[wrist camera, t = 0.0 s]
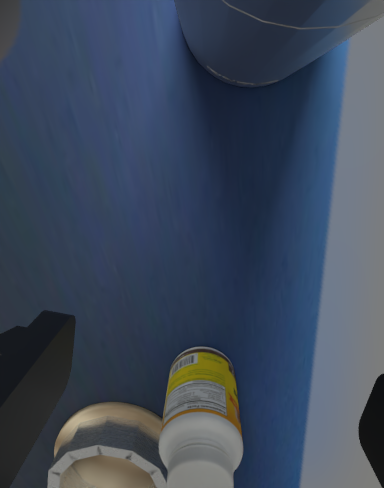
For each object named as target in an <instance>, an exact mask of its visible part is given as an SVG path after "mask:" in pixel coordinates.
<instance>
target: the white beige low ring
mask: <svg viewBox="0 0 384 488" xmlns="http://www.w3.org/2000/svg"><path fill="white" fill-rule="evenodd" d="M159 438H160V435H159V434H158V433H156V432H155V431H153V430H152V429H150V428H149V427H148V426H146V425H145V424H143V423H142V422H140V421H137V420H131V419H125V418H120V417H114V416H109V415H108V416H104V417H100V418H96V419H92V420H88V421H84V422H80V423H79V424H78V425H77V426H76V427H75V428H74V429H73V430H72V431H71V432H70V433H69V434H68V435H67V436H66V437H65V438H64V439H63V441H62V443H61V445H60V447H59V450H58V452H57V454H56V456H55V458H54V460H53V462H52V465H51V467H50V469H49V473H48V488H97V487H95V486H93V485H92V484H90V483H88V482H87V481H85V480H84V479H82V478H81V476H80V474H79V473H78V471H77V469H76V468H75V466H74V464H73V462H74V461H75V460H79V459H83V458H88V457H92V456H96V455H105V456H111V457H116V458H122V459H128V460H129V461H131V462H132V463H134V464H135V465H137V466H138V467H140V468H141V469H143V470H145V471H146V472H148V473H149V474H150V476H151V478H152V479H153V481H154V483H153V484H152V485H151V486H150V487H148V488H167V474H168V469H167V468H166V467H165V465H164V464H163V462H162V460H161V457H160V454H159Z"/></svg>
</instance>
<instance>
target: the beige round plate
mask: <svg viewBox="0 0 384 488" xmlns="http://www.w3.org/2000/svg"><path fill="white" fill-rule="evenodd" d="M108 415H109V416H114V417H120V418H125V419H131V420H137V421H140V422H142V423H143V424H145V425H146V426H148V427H149V428H150V429H152V430H153V431H155V432H156V433H158V434H159V435H160V432H161V426H162V420H163V419H162V418H161V417H160V416H158V415H157V414H155V413H153V412H152V411H150V410H147V409H145V408H143V407H140V406H137V405H133V404H129V403H123V402H102V403H97V404H93V405H90V406H87V407H85V408H82V409H80V410H79V411H77V412H76V413H74V414H73V415H72V416H71V417H70V418H69V419H68V420H67V421H66V422H65V424H64V425H63V427H62V429H61V431H60V433H59V435H58V437H57V440H56V443H55V448H54V457H55V456H56V454H57V452H58V450H59V447H60V445H61V443H62V441H63V439H64V438H65V437H66V436H67V435H68V434H69V433H70V432H71V431H72V430H73V429H74V428H75V427H76V426H77V425H78V424H79V423H80V422H84V421H88V420H92V419H96V418H100V417H104V416H108ZM73 464H74V466H75V468H76V469H77V471H78V473H79V474H80V476H81V478H82V479H84V480H85V481H87V482H88V483H90V484H92V485H93V486H95V487H97V488H148V487H150V486H151V485H152V484H153V483H154V481H153V479H152V478H151V476H150V474H149V473H148V472H146V471H145V470H143V469H141V468H140V467H138V466H137V465H135V464H134V463H132V462H131V461H129V460H128V459H122V458H116V457H111V456H105V455H96V456H92V457H88V458H83V459H79V460H75V461H74V462H73Z"/></svg>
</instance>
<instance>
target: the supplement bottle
mask: <svg viewBox="0 0 384 488" xmlns="http://www.w3.org/2000/svg"><path fill="white" fill-rule="evenodd" d="M159 454H160V457H161V460H162V462H163V464H164V465H165V467H166V468H167V469H168V474H167V488H233V486H234V483H233V473H234V471H235V470H236V469H237V467H238V466H239V464H240V462H241V459H242V456H243V440H242V431H241V423H240V414H239V404H238V396H237V387H236V379H235V372H234V368H233V365H232V363H231V362H230V360H229V359H228V358H227V357H226V356H225V355H224V354H223V353H222V352H220V351H218V350H216V349H213V348H210V347H193V348H190V349H187V350H185V351H184V352H182V353H181V354H179V355H178V356H177V357H176V359H175V360H174V362H173V364H172V366H171V369H170V375H169V381H168V387H167V394H166V400H165V407H164V413H163V420H162V426H161V432H160V438H159Z"/></svg>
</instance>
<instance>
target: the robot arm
mask: <svg viewBox="0 0 384 488" xmlns="http://www.w3.org/2000/svg"><path fill="white" fill-rule="evenodd" d="M174 2H175V6H176V10H177V13H178V17H179V21H180V24H181V28H182V31H183V35H184V37H185V39H186V42H187V44H188V46H189V49H190V51H191V52H192V53H193V55H194V56H195V58H196V59H197V61H198V62H199V64H200V65H202V66H203V67H204V68H205V69H206V70H207V71H208V72H209V73H210V74H211V75H213V76H215V77H216V78H218V79H220V80H221V81H223V82H226V83H229V84H232V85H235V86H239V87H252V88H253V87H260V86H266V85H270V84H273V83H275V82H278V81H280V80H283V79H284V78H286V77H288V76H289V75H291V74H293V73H294V72H296V71H297V70H299V69H301V68H303V67H304V66H306V65H308V64H309V63H311V62H312V61H314V60H315V59H317V58H319V57H320V56H322V55H323V54H325V53H327V52H328V51H330V50H331V49H333V48H334V47H336V46H338V45H339V44H341V43H342V42H344V41H345V40H347V39H349V38H350V37H352V36H353V35H355V34H356V33H358V32H360V31H361V30H363V29H364V28H366V27H368V26H369V25H371V24H372V23H374V22H375V21H377V20H378V19H380V18H382V17H383V16H384V0H174ZM75 323H76V321H75V316H73V315H68V314H63V313H58V312H52V311H47V310H44V311H43V312H41V313H40V314H39V315H38V317H37V318H36V319H35V320H34V321H33V322H32V323H31V324H30V325H29V326H28V327H21V326H16V327H14V328H12V329H10V330H8V331H6V332H4V333H1V334H0V488H9V487H10V485H11V484H12V482H13V480H14V478H15V477H16V475H17V473H18V471H19V470H20V468H21V466H22V464H23V463H24V461H25V459H26V457H27V455H28V454H29V452H30V450H31V448H32V447H33V445H34V443H35V441H36V440H37V438H38V436H39V434H40V433H41V431H42V429H43V427H44V426H45V424H46V422H47V420H48V419H49V417H50V415H51V413H52V411H53V410H54V408H55V406H56V404H57V403H58V401H59V399H60V397H61V396H62V394H63V392H64V390H65V388H66V385H67V383H68V379H69V376H70V372H71V366H72V356H73V345H74V335H75ZM359 439H360V443H361V446H362V448H363V450H364V452H365V454H366V456H367V458H368V460H369V462H370V464H371V466H372V468H373V470H374V472H375V474H376V476H377V478H378V480H379V482H380V484H381V486H382V488H384V374H381V375H380V376H379V377H378V378H377V380H376V382H375V384H374V387H373V390H372V392H371V394H370V397H369V399H368V401H367V404H366V407H365V409H364V411H363V414H362V416H361V419H360V422H359Z"/></svg>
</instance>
